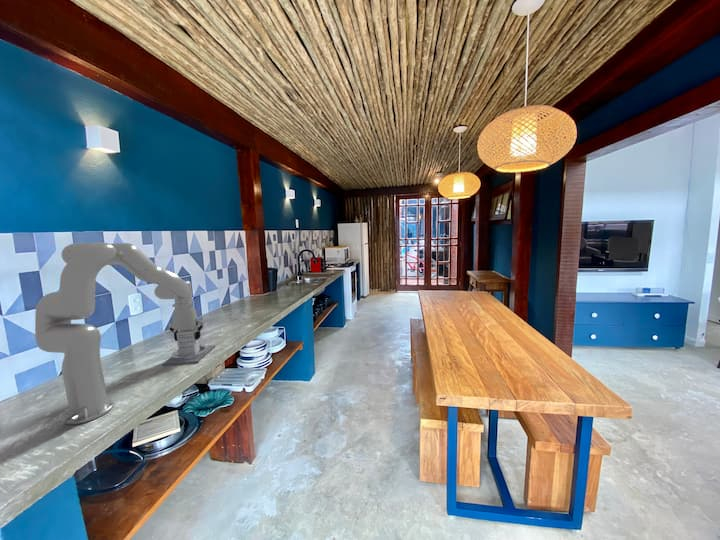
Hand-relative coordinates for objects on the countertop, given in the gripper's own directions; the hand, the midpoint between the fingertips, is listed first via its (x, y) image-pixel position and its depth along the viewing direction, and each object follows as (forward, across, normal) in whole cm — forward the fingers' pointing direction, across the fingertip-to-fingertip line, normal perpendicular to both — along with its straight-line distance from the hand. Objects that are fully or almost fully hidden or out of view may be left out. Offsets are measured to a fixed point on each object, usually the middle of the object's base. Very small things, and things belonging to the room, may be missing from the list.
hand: (187, 339), depth 142 cm
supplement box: (+8, 0, 0) cm, 8 cm away
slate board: (+9, 0, +1) cm, 9 cm away
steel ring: (+9, 0, +1) cm, 9 cm away
